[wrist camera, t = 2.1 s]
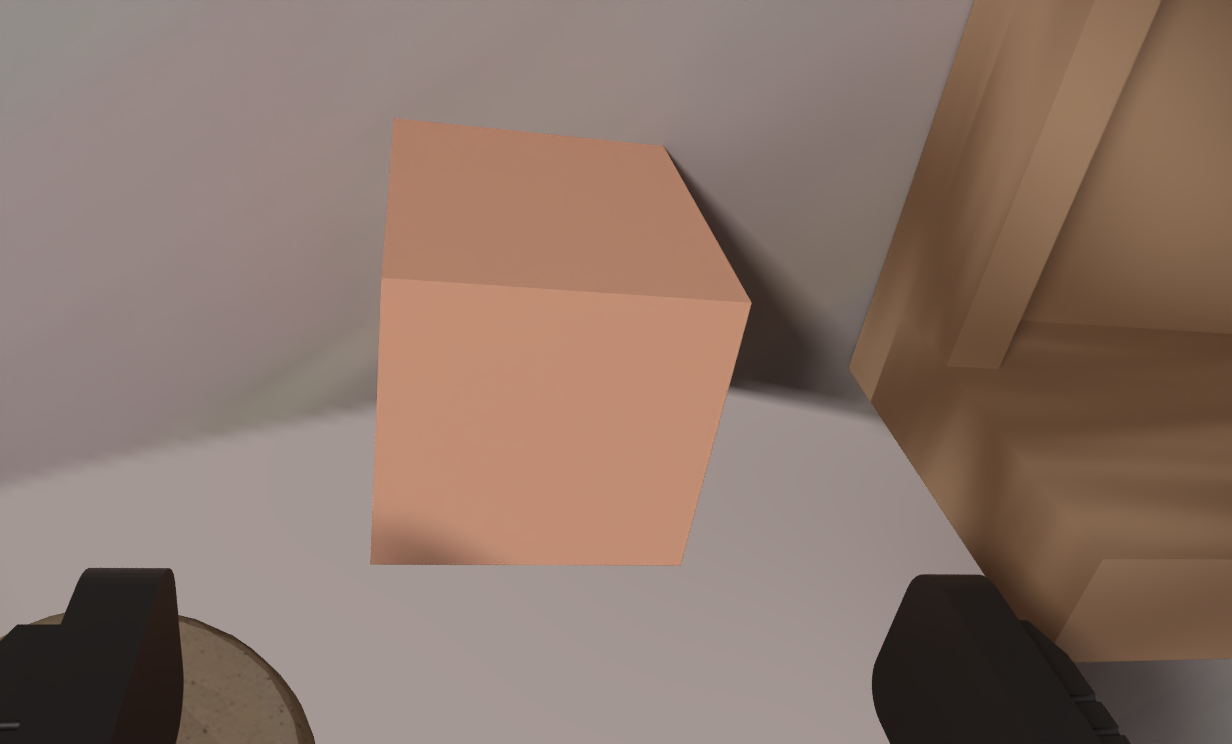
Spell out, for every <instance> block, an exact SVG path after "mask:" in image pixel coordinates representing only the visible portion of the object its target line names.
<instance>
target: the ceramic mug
mask: <svg viewBox="0 0 1232 744" xmlns="http://www.w3.org/2000/svg"><path fill="white" fill-rule="evenodd" d="M64 614H65V613H62V614H58V615H54V616H50V617H47V618H44V619H42V620H39V621H37V622H34V623H31V624H28V625H34V624H61V622H62V619H63V617H64ZM178 618H179V629H180V639H181V650H182V660H183V672H184V692H183V705H182V714H181V721H180V727H179V732H178V737H177V741H176V744H315V741H314V736H313V734H312V731H311V728H310V726H309V724H308V721H307V718H306V716H305V713H304V710H303V708H302V706H301V704H300V702H299V701H298V699H297V697H296V695H295V694H294V693H293V691H292V690H291V688H290V687H289V686H288V685H287V683H286V682H285V680H284V679H283V678H282V677H281V675H279V673H278V672H277V671H276V670H275V669H274V668H272V667H271V666H270V665H269V664H268V663H267V662H266V661H265V660H264V659H263V658H262V657H261V656H259V655H258V654H257V653H256V652H255V651H254V650H253V649H251V648H250V647H248V646H247V645H246V644H244V643H243V642H241V641H240V640H238V639H237V638H236V637H234V636H232V635H230V634H228V633H225V632H223V631H221V630H219V629H216V628H214V627H212V626H210V625H207V624H205V623H203V622H200V621H198V620H196V619H192V618H188V617H184V616H180V615H178ZM5 636H6V635H5ZM5 636H3V637H1V638H0V641H1V640H2V639H3V638H4V637H5Z"/></svg>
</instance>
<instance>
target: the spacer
mask: <svg viewBox="0 0 1232 744" xmlns="http://www.w3.org/2000/svg"><path fill="white" fill-rule="evenodd" d="M750 307H751V301H750V299H749V297H748V296H747V294H746V292H745V290H744V288H743V287H742V285H741V283H740V281H739V280H738V278H737V276H736V274H735V272H734V271H733V269H732V267H731V265H730V264H729V262H728V260H727V258H726V256H725V255H724V253H723V251H722V249H721V248H720V246H719V244H718V242H717V240H716V239H715V237H714V235H713V233H712V232H711V230H710V228H709V226H708V224H707V223H706V221H705V219H704V217H703V216H702V214H701V212H700V210H699V208H698V207H697V205H696V203H695V201H694V200H693V198H692V196H691V194H690V192H689V191H688V189H687V187H686V185H685V184H684V182H683V180H682V178H681V176H680V175H679V173H678V171H677V169H676V168H675V166H674V164H673V162H672V161H671V159H670V157H669V155H668V153H667V152H666V150H665V148H664V146H657V145H647V144H637V143H628V142H618V141H608V140H598V139H589V138H579V137H569V136H559V135H550V134H540V133H530V132H521V131H511V130H501V129H491V128H482V127H472V126H462V125H453V124H443V123H433V122H423V121H414V120H404V119H394V125H393V138H392V151H391V164H390V177H389V190H388V203H387V216H386V229H385V242H384V255H383V268H382V283H381V309H380V334H379V359H378V384H377V410H376V435H375V461H374V486H373V511H372V537H371V561H370V562H371V563H370V564H384V565H385V564H386V565H387V564H390V565H394V564H395V565H681V562H682V559H683V555H684V551H685V547H686V544H687V540H688V536H689V533H690V529H691V525H692V521H693V517H694V514H695V510H696V507H697V503H698V499H699V496H700V492H701V488H702V485H703V481H704V477H705V473H706V470H707V466H708V462H709V458H710V455H711V451H712V448H713V443H714V440H715V436H716V433H717V429H718V425H719V422H720V418H721V414H722V410H723V407H724V403H725V399H726V396H727V392H728V388H729V385H730V381H731V377H732V374H733V370H734V366H735V362H736V359H737V355H738V351H739V348H740V344H741V340H742V337H743V333H744V329H745V325H746V322H747V318H748V314H749V311H750Z"/></svg>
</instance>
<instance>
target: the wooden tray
mask: <svg viewBox="0 0 1232 744" xmlns="http://www.w3.org/2000/svg"><path fill="white" fill-rule="evenodd" d="M849 370H850V371H851V373H852V374H853V376H854V377H855V379H856V380H857V382H858V383H859V385H860V387H861V388H862V390H863V391H864V393H865V394H866V396H867V397H868V399H869V400H870V402H871V403H872V405H873V406H874V408H875V409H876V411H877V412H878V414H879V415H880V417H881V418H882V420H883V421H884V423H885V425H886V426H887V428H888V429H889V431H890V432H891V434H892V435H893V437H894V438H895V440H896V441H897V443H898V444H899V446H900V447H901V449H902V450H903V452H904V453H905V455H906V456H907V458H908V459H909V461H910V462H911V464H912V465H913V467H914V469H915V470H916V471H917V473H918V475H919V476H920V478H921V479H922V481H923V482H924V484H925V485H926V487H927V488H928V490H929V491H930V493H931V494H932V496H933V497H934V499H935V500H936V502H937V503H938V505H939V506H940V508H941V510H942V511H943V513H944V514H945V515H946V517H947V519H948V520H949V522H950V523H951V525H952V526H953V528H954V529H955V531H956V532H957V534H958V535H959V537H960V538H961V540H962V541H963V543H964V544H965V546H966V548H967V549H968V551H969V552H970V554H971V555H972V557H973V558H974V560H975V561H976V563H977V564H978V566H979V567H980V569H981V570H982V572H983V573H984V575H985V576H986V577H987V578H988V579H989V580H991V581H992V582H993V583H994V585H995V586H996V587H997V589H998V590H999V591H1000V593H1001V594H1002V596H1003V597H1004V599H1005V600H1006V602H1007V603H1008V605H1009V606H1010V608H1011V609H1012V611H1013V612H1014V614H1015V615H1016V617H1017V618H1018V619H1019V620H1028V621H1029V622H1030V623H1032V624H1033V625H1034V626H1035V627H1036V628H1037V629H1039V630H1040V631H1041V632H1042V633H1043V634H1044V635H1046V636H1047V637H1048V638H1049V639H1050V640H1051V641H1053V642H1054V643H1055V644H1056V645H1057V646H1058V647H1059V648H1061V649H1062V650H1063V651H1064V652H1065V653H1066V654H1068V656H1069V657H1070V659H1071V660H1072V661H1073V663H1075V662H1114V661H1154V660H1193V659H1232V0H974V3H973V6H972V9H971V12H970V15H969V18H968V21H967V24H966V27H965V30H964V32H963V35H962V38H961V41H960V44H959V47H958V50H957V53H956V56H955V59H954V62H953V65H952V67H951V70H950V73H949V76H948V79H947V82H946V85H945V88H944V91H943V94H942V97H941V100H940V102H939V105H938V108H937V111H936V114H935V117H934V120H933V123H932V126H931V129H930V132H929V134H928V137H927V140H926V143H925V146H924V149H923V152H922V155H921V158H920V161H919V164H918V167H917V169H916V172H915V175H914V178H913V181H912V184H911V187H910V190H909V193H908V196H907V199H906V202H905V204H904V207H903V210H902V213H901V216H900V219H899V222H898V225H897V228H896V231H895V234H894V237H893V239H892V242H891V245H890V248H889V251H888V254H887V257H886V260H885V263H884V266H883V269H882V271H881V274H880V277H879V280H878V283H877V286H876V289H875V292H874V295H873V298H872V301H871V304H870V306H869V309H868V312H867V315H866V318H865V321H864V324H863V327H862V330H861V333H860V336H859V339H858V341H857V344H856V347H855V350H854V353H853V356H852V359H851V362H850V365H849Z"/></svg>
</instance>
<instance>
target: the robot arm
mask: <svg viewBox="0 0 1232 744" xmlns="http://www.w3.org/2000/svg"><path fill="white" fill-rule="evenodd" d="M183 692H184V672H183V660H182V650H181V639H180V629H179V618H178V608H177V597H176V587H175V578H174V574H173V572H172V570H171V569H170V568H88V569H86V570H85V571H84V572H83V574H82V575H81V577H80V579H79V581H78V583H77V585H76V588H75V590H74V593H73V595H72V597H71V600H70V602H69V605H68V607H67V610H66V612H65V614H64V617H63V619H62V622H61V624H34V625H16V626H15V627H14V628H13V629H12V630H11V631H10V632H9V633H8V634H7V635H6V636H5V637H4V638H3V639H2V640H1V641H0V744H176V741H177V737H178V732H179V727H180V721H181V714H182V705H183ZM872 694H873V700H874V706H875V710H876V713H877V716H878V718H879V721H880V723H881V725H882V727H883V729H884V731H885V734H886V736H887V738H888V740H889V742H890V744H1130V742H1129V741H1128V739H1127V738H1126V737H1125V735H1122V736H1121V735H1120V734H1119V732H1118V725H1117V724H1116V722H1115V721H1114V720H1113V718H1112V717H1111V715H1110V714H1109V712H1108V711H1107V710H1106V708H1105V707H1104V705H1103V704H1102V703H1101V702H1096V700H1095V693H1094V691H1093V690H1092V688H1091V687H1090V686H1089V684H1088V683H1087V681H1086V680H1085V678H1084V677H1083V676H1082V674H1081V673H1080V671H1079V670H1078V669H1077V667H1076V666H1075V664H1074V663H1073V661H1072V660H1071V659H1070V657H1069V656H1068V654H1066V653H1065V652H1064V651H1063V650H1062V649H1061V648H1059V647H1058V646H1057V645H1056V644H1055V643H1054V642H1053V641H1051V640H1050V639H1049V638H1048V637H1047V636H1046V635H1044V634H1043V633H1042V632H1041V631H1040V630H1039V629H1037V628H1036V627H1035V626H1034V625H1033V624H1032V623H1030V622H1029V621H1028V620H1019V619H1018V618H1017V617H1016V615H1015V614H1014V612H1013V611H1012V609H1011V608H1010V606H1009V605H1008V603H1007V602H1006V600H1005V599H1004V597H1003V596H1002V594H1001V593H1000V591H999V590H998V589H997V587H996V586H995V585H994V583H993V582H992V581H991V580H989V579H988V578H987V577H985V576H982V575H935V574H933V575H931V574H926V575H925V574H924V575H919V576H917V577H915V578H914V579H913V580H912V581H911V583H910V584H909V586H908V588H907V590H906V593H905V595H904V597H903V600H902V602H901V604H900V607H899V609H898V611H897V613H896V616H895V618H894V620H893V622H892V625H891V627H890V630H889V632H888V634H887V636H886V639H885V641H884V643H883V645H882V648H881V650H880V652H879V655H878V657H877V659H876V662H875V665H874V669H873V675H872Z"/></svg>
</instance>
